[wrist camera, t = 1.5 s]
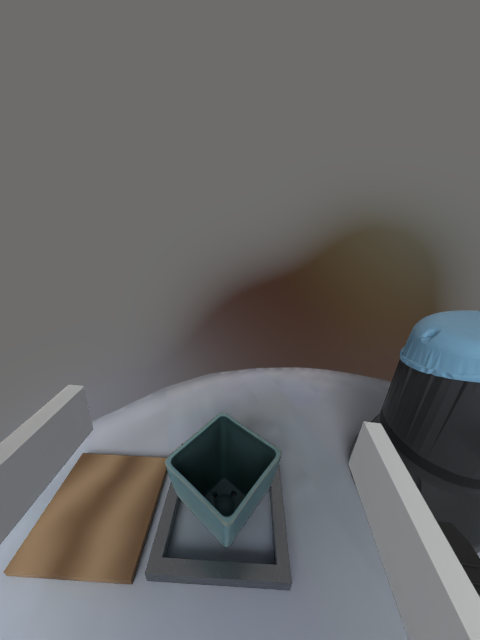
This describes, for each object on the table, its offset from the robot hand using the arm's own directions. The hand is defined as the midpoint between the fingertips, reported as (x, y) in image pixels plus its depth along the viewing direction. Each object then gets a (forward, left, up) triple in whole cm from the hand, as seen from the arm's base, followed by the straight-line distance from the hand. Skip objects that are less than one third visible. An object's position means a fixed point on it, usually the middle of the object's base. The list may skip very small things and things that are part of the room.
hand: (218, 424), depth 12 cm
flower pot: (+1, -8, -23) cm, 24 cm away
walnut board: (+15, -7, -23) cm, 28 cm away
